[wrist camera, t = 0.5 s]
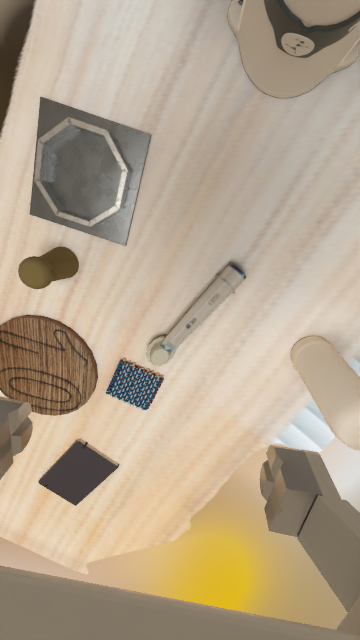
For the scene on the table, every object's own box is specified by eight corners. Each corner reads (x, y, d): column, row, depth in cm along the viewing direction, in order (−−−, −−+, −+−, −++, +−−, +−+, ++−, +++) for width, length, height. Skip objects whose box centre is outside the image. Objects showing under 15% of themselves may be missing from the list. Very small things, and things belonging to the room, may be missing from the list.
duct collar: (42, 98, 44) (31, 90, 41) (151, 135, 45) (147, 130, 42) (31, 214, 51) (21, 214, 48) (126, 245, 51) (121, 247, 49)
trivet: (-14, 304, 59) (-21, 307, 57) (101, 326, 59) (98, 330, 57) (-4, 399, 68) (-10, 404, 67) (95, 418, 68) (92, 424, 66)
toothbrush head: (251, 280, 48) (159, 379, 53) (243, 276, 55) (161, 364, 60) (230, 260, 47) (137, 362, 52) (224, 258, 54) (142, 349, 59)
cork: (55, 240, 52) (19, 247, 42) (83, 258, 53) (54, 270, 43) (43, 266, 54) (6, 279, 44) (70, 284, 55) (40, 300, 45)
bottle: (331, 332, 54) (462, 461, 26) (331, 367, 57) (451, 517, 29) (288, 338, 55) (371, 468, 28) (291, 372, 58) (368, 520, 30)
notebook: (78, 500, 80) (120, 462, 73) (75, 506, 79) (118, 467, 71) (40, 477, 78) (80, 435, 71) (37, 482, 76) (77, 440, 69)
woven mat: (148, 408, 66) (147, 413, 64) (107, 390, 65) (104, 395, 63) (166, 374, 62) (165, 379, 60) (122, 354, 61) (119, 359, 59)
